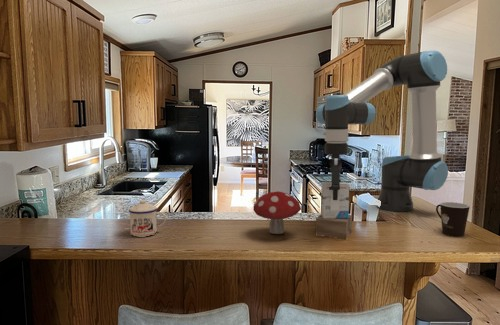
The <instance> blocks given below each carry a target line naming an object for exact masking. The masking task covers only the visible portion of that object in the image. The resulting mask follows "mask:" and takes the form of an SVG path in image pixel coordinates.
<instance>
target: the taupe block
mask: <svg viewBox="0 0 500 325" xmlns="http://www.w3.org/2000/svg"><path fill="white" fill-rule="evenodd" d="M352 232H353V214H349V218H348V219H324V218H323V217H322V215H321V214H320V215H318V216H317V217H316V219H315V235H316V234H317V235H324V236H331V237H330V238H332V237H337V238H336V239H339V238H344V239H343V240H347V239H348V237H349V236H350V235H351V233H352ZM349 234H350V235H349ZM317 235H316V236H317ZM348 235H349V236H348ZM324 236H323V237H324ZM346 238H347V239H346Z"/></svg>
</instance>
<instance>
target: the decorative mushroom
mask: <svg viewBox="0 0 500 325" xmlns="http://www.w3.org/2000/svg"><path fill="white" fill-rule="evenodd" d="M300 210H302V207H301V204H300V201H298V200H297V199H296V198H295V197H293V196H292V195H291V194H289V193H286V192H283V191H277V190H276V191H271V192H267V193H265V194H263V195H262V196H260V197H259V198H258V199H257V200H256V201H255V202H253V212H254V213H255V215H257V216H258V217H261V218H264V219H267V220H268V219H269V220H270V221H269V233H271V234H273V235H281V234H283V233H285V223H284V219H285V220H286V219H289V218H292V217H293V216H296V215H298V213H299V212H300Z"/></svg>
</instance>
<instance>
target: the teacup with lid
mask: <svg viewBox="0 0 500 325" xmlns="http://www.w3.org/2000/svg"><path fill="white" fill-rule="evenodd" d="M157 210H158V208H157V206H156V205H155V204H154V205H153V204H151V203H148V202H147V201H146V200H145V199H141V200H139V203H137V204H135V205H134V206H131V207H130V208H129V210H128V212H129V224H130V229H129V230H130V234H131V233H133V234H139V235H141V234H142V235H143V234H151V233H154V232H156V231H157V232H158V228H159V227H162V226H164V225H165V223H166V220H167V217H166V214H165V212H162V211H157ZM157 215H162V216H163V221H162V222H161V223H159V224H157V223H158V222H157V218H158V217H157Z"/></svg>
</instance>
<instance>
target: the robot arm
mask: <svg viewBox="0 0 500 325" xmlns="http://www.w3.org/2000/svg"><path fill="white" fill-rule="evenodd" d="M447 73H448V64H447V61H446V58H445V56H443V54H442V53H441V52H440V51H438V50H425V51H424V50H423V51H420V52H419V51H418V52H415V53H409V54H405V55H400V56H397V57H395V58H393V59H391V60H389V61H387V62H385V63H384V64H383V65H381V66H379V67H378V68H377V69H375V70H374V71H373V73H372V75H371V76H369V77H368V78H366V79H364V80H363V81H362V82H360V83H359V84H357V85H355V86H354V87H353V88H351V89H349V90H347V92H345V93H343V94H331V95H327V96H326V98H325V103H324V104H320V105H319V106H318V107H317V109H316V111H315V117H316V120H317V122H318V123H320V124H321V125H324V132H323V133H322V135H323V136H324V141H325V143H324V154H326V155H331V158H330V159H329V166H330V173H331V180H330V182H332V186H331V187H329V190H331V210H339V201H340V190H339V189H340V182H342V180H341V179H340V176H341V172H342V165H343V160H342V159H341V157H340V156H341V155H347V154H348V150H349V147H348V146H349V143H348V141H349V125H363V126H364V125H368V124H371V123H372V122H373V121H374V120H375V117H376V112H377V110H376V108H375V106H374V105H373V104H372V103H369V102H368V101H370V100H371V99H373V98H374V97H376V96H378V95H379V94H380V93H381V92H383V91H388V90H390V89H392V88H394V87H397V86H398V87H399V86H403V85H406V86H407V90H408V91H409V92H410V93H411V115H412V116H411V118H412V125H411V126H412V153H411V154H409V155H395V156H394V155H393V156H385V157H383V158H382V160H381V177H380V178H381V179H380V180H381V181H380V182H381V183H380V184H381V185H380V186H381V189H380V192H379V195H378V197H377V199H378V200H380V201H381V206H380V208H379V209H380V210H384V211H389V212H411V211H413V210H414V202H413V199H412V195H411V191H410V188H416V189H422V190H426V191H428V190H429V191H437V190H439V189H441V188H442V187H443V186H444V185H445V184H446V181H447V178H448V175H449V167H448V165H447V163H446V162H444V161H442V155H441V154H440V153H439V152H438V149H437V148H438V146H437V145H438V144H437V142H438V141H437V90H438V89H439V88H440V87H441V81H444V80H445V79H446V77H447Z"/></svg>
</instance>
